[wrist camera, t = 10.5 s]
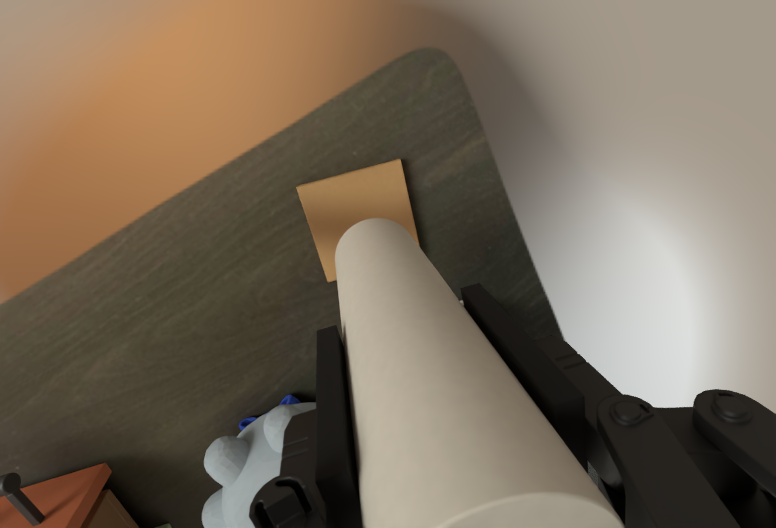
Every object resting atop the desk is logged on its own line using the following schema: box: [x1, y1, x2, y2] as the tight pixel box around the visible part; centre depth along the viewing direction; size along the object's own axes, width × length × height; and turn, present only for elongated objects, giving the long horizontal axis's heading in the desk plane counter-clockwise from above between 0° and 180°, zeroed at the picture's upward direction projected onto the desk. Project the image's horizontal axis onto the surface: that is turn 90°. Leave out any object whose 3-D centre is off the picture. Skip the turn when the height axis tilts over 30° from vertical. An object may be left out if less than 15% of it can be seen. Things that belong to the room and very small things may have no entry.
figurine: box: [202, 395, 316, 528], centre depth 35 cm, size 17×8×20 cm
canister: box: [335, 218, 625, 528], centre depth 15 cm, size 5×5×18 cm
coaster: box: [297, 159, 420, 282], centre depth 30 cm, size 8×8×1 cm
